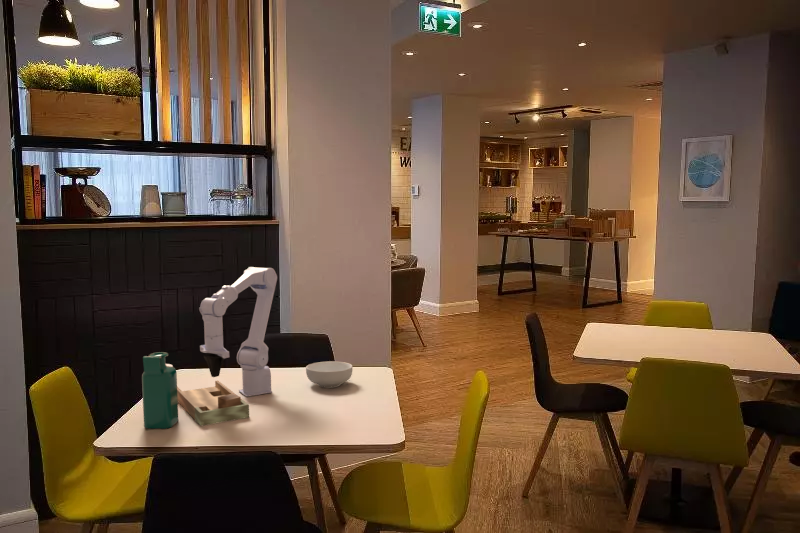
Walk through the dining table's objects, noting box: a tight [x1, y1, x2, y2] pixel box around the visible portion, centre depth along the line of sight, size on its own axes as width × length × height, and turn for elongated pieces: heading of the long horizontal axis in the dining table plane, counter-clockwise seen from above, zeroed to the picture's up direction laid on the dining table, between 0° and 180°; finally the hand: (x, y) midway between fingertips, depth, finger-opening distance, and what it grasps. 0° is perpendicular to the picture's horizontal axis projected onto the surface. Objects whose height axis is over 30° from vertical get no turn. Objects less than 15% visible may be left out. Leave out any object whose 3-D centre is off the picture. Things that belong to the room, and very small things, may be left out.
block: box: [218, 394, 242, 409], centre depth 207 cm, size 5×5×4 cm
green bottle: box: [141, 351, 179, 430], centre depth 198 cm, size 10×8×22 cm
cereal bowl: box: [305, 360, 354, 389], centre depth 242 cm, size 17×17×7 cm
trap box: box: [177, 380, 250, 427], centre depth 216 cm, size 15×33×4 cm, turn 31°
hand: (215, 376), depth 215 cm, fingers closed
